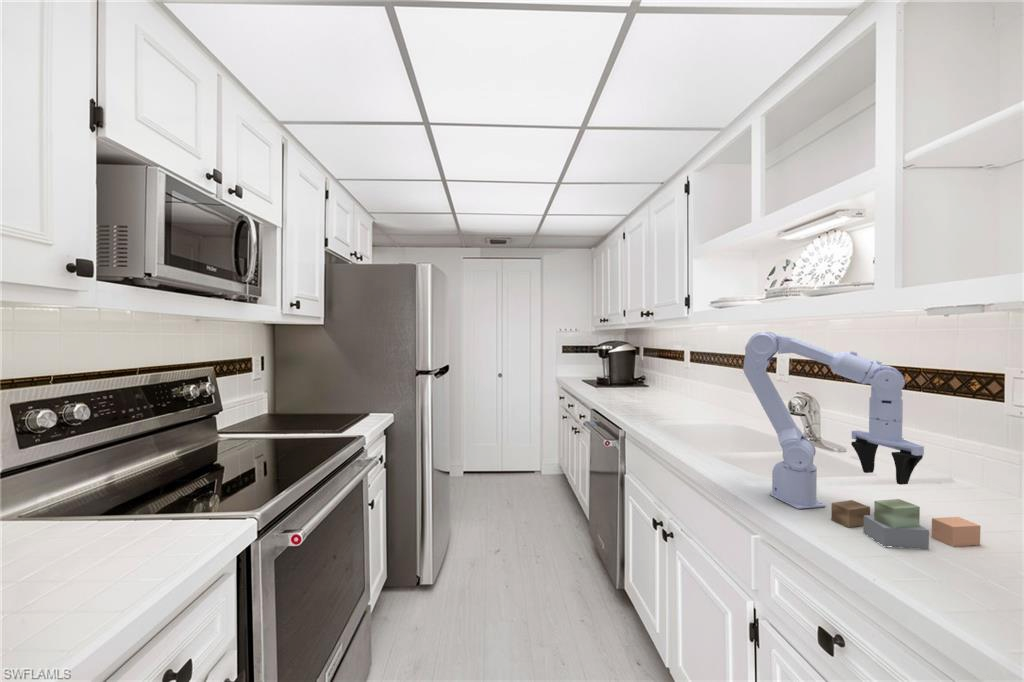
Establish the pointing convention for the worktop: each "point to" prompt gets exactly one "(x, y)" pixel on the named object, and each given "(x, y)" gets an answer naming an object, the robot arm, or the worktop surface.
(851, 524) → the walnut brick
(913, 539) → the slate brick
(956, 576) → the worktop surface
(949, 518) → the terracotta brick
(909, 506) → the sage brick
